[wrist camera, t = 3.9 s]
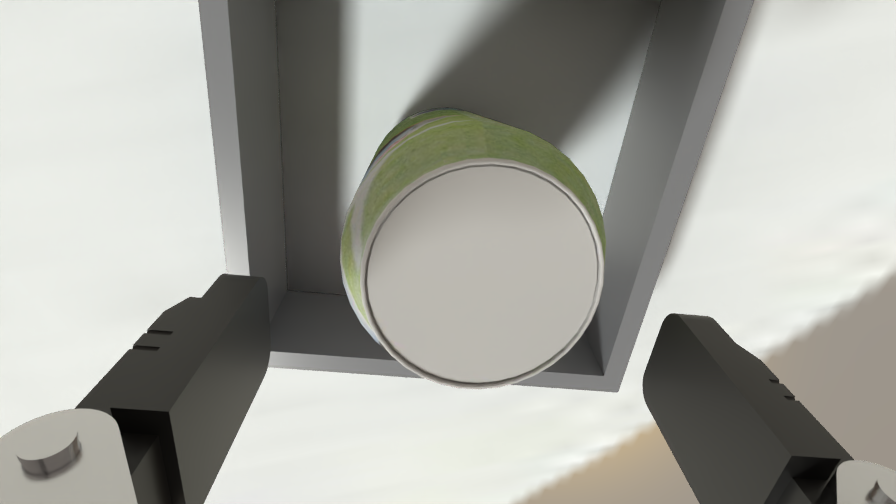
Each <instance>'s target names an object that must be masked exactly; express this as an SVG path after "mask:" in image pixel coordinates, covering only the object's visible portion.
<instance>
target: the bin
mask: <svg viewBox="0 0 896 504" xmlns="http://www.w3.org/2000/svg"><path fill="white" fill-rule="evenodd" d="M198 2H199V12H200V21H201V31H202V40H203V50H204V59H205V69H206V79H207V88H208V98H209V107H210V117H211V127H212V136H213V146H214V155H215V165H216V174H217V184H218V194H219V203H220V213H221V222H222V232H223V242H224V251H225V261H226V270H227V274H233V275H244V276H256V277H264V278H265V280H266V282H267V287H268V302H269V319H270V337H271V351H270V359H269V364H268V367H273V368H287V369H301V370H315V371H329V372H342V373H356V374H370V375H384V376H398V377H411V378H423V377H421V376H419V375H417V374H416V373H414V372H412V371H411V370H409V369H407V368H406V367H404V366H403V365H402V364H401V363H400V362H398V361H397V360H396V359H395V358H394V357H393V356H391V355H390V354H389V352H388V351H386V350H385V349H384V348H383V347H382V346H381V345H379V344H378V343H377V342H376V341H375V340H374V339H373V338H372V336H371V335H370V334H369V333H368V331H367V330H366V329H365V328H364V327H363V325H362V324H361V323H360V321H359V319H358V317H357V315H356V314H355V312H354V310H353V308H352V306H351V305H350V302H349V299H348V296H347V295H335V294H323V293H311V292H299V291H287V270H286V247H285V223H284V199H283V175H282V151H281V127H280V104H279V80H278V56H277V32H276V8H275V0H198ZM753 2H754V0H661V4H660V8H659V11H658V15H657V19H656V22H655V26H654V30H653V33H652V37H651V41H650V44H649V48H648V52H647V55H646V59H645V63H644V67H643V70H642V74H641V78H640V81H639V85H638V89H637V92H636V96H635V100H634V103H633V107H632V111H631V114H630V118H629V122H628V125H627V129H626V133H625V136H624V140H623V144H622V147H621V151H620V155H619V158H618V162H617V166H616V170H615V173H614V177H613V181H612V184H611V188H610V192H609V195H608V199H607V203H606V206H605V210H604V214H603V222H604V230H605V237H606V252H605V266H604V283H603V288H602V292H601V296H600V301H599V304H598V306H597V309H596V311H595V313H594V316H593V318H592V320H591V322H590V324H589V325H588V327H587V328H586V330H585V332H584V333H583V335H582V336H581V338H580V339H579V340H578V341H577V342H576V343H575V344H574V346H573V347H572V348H571V349H570V350H569V351H568V352H567V353H566V354H565V355H564V356H562V357H561V358H560V359H559V360H558V361H556V362H555V363H554V364H553V365H551V366H550V367H548V368H546V369H545V370H543V371H541V372H540V373H538V374H536V375H534V376H532V377H530V378H527V379H525V380H522V381H520V382H518V383H514V384H510V385H522V386H536V387H550V388H564V389H577V390H591V391H605V392H618V391H619V388H620V385H621V382H622V379H623V376H624V374H625V371H626V368H627V365H628V362H629V359H630V356H631V353H632V350H633V348H634V345H635V342H636V339H637V336H638V333H639V330H640V327H641V325H642V322H643V319H644V316H645V313H646V310H647V307H648V304H649V301H650V299H651V296H652V293H653V290H654V287H655V284H656V281H657V278H658V276H659V273H660V270H661V267H662V264H663V261H664V258H665V255H666V252H667V250H668V247H669V244H670V241H671V238H672V235H673V232H674V229H675V227H676V224H677V221H678V218H679V215H680V212H681V209H682V206H683V203H684V201H685V198H686V195H687V192H688V189H689V186H690V183H691V180H692V178H693V175H694V172H695V169H696V166H697V163H698V160H699V157H700V154H701V152H702V149H703V146H704V143H705V140H706V137H707V134H708V131H709V129H710V126H711V123H712V120H713V117H714V114H715V111H716V108H717V105H718V103H719V100H720V97H721V94H722V91H723V88H724V85H725V82H726V80H727V77H728V74H729V71H730V68H731V65H732V62H733V59H734V56H735V54H736V51H737V48H738V45H739V42H740V39H741V36H742V33H743V31H744V28H745V25H746V22H747V19H748V16H749V13H750V10H751V7H752V5H753Z"/></svg>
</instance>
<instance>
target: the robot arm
mask: <svg viewBox="0 0 896 504" xmlns="http://www.w3.org/2000/svg"><path fill="white" fill-rule="evenodd" d="M270 351H271V337H270V319H269V302H268V287H267V282H266V280H265V278H264V277H256V276H244V275H233V274H222V275H220V276H219V278H218V279H217V280H216V281H215V282H214V283H213V285H212V286H211V287H210V288H209V289H208V291H207V292H206V293H205V294H204V295H203V297H202V298H196V297H189V298H187V299H185V300H184V301H182V302H180V303H178V304H176V305H175V306H173V307H171V308H169V309H168V310H166V311H164V312H163V313H162V314H161V315H160V317H159V318H158V319H157V320H156V321H155V322H154V323H153V324H152V325H151V326H150V327H149V328H148V331H147V333H144V334H143V335H142V336H141V337H140V338H139V339H138V340H137V341H136V343H135V344H134V345H133V349H129V350H128V351H127V352H126V353H125V354H124V356H123V357H122V358H121V359H120V360H119V361H118V362H117V363H116V364H115V365H114V366H113V367H112V369H111V370H110V371H109V372H108V373H107V374H106V375H105V376H104V377H103V378H102V379H101V380H100V382H99V383H98V384H97V385H96V386H95V387H94V388H93V389H92V390H91V391H90V392H89V393H88V395H87V396H86V397H85V398H84V399H83V400H82V401H81V402H80V403H79V404H78V405H77V406H76V408H75V409H69V410H63V411H58V412H54V413H50V414H47V415H44V416H41V417H38V418H35V419H33V420H31V421H29V422H26V423H24V424H22V425H20V426H18V427H17V428H15V429H13V430H11V431H10V432H8V433H7V434H5V435H4V436H2V437H1V438H0V504H204V502H205V499H206V497H207V495H208V493H209V491H210V489H211V487H212V485H213V483H214V481H215V479H216V477H217V474H218V472H219V470H220V468H221V466H222V464H223V462H224V460H225V458H226V456H227V454H228V451H229V449H230V447H231V445H232V443H233V441H234V439H235V437H236V435H237V433H238V431H239V428H240V426H241V424H242V422H243V420H244V418H245V416H246V414H247V412H248V410H249V408H250V406H251V403H252V401H253V399H254V397H255V395H256V393H257V391H258V389H259V387H260V385H261V383H262V380H263V378H264V376H265V374H266V371H267V368H268V364H269V359H270ZM643 395H644V399H645V402H646V404H647V406H648V408H649V410H650V412H651V414H652V416H653V418H654V420H655V421H656V423H657V425H658V427H659V429H660V431H661V433H662V434H663V436H664V438H665V440H666V442H667V444H668V446H669V447H670V449H671V451H672V453H673V455H674V457H675V459H676V460H677V462H678V464H679V466H680V468H681V470H682V472H683V473H684V475H685V477H686V479H687V481H688V483H689V485H690V487H691V488H692V490H693V492H694V494H695V496H696V498H697V500H698V501H699V503H700V504H896V472H895V471H893V470H891V469H888V468H886V467H884V466H881V465H877V464H875V463H870V462H866V461H859V460H854V459H853V458H852V457H851V456H850V455H849V454H848V453H847V452H846V451H845V449H844V448H843V447H842V446H841V445H840V444H839V443H838V442H837V441H836V440H835V439H834V438H833V437H832V436H831V435H830V433H829V432H828V431H827V430H826V429H825V428H824V427H823V426H822V425H821V424H820V423H819V422H818V421H817V420H816V419H815V417H813V415H812V414H811V413H810V412H809V411H808V410H807V409H806V408H805V407H804V406H803V405H802V404H801V403H800V401H795V398H794V397H795V396H794V395H793V394H792V393H791V392H790V391H789V390H788V389H787V388H786V387H785V386H784V384H780V383H779V379H778V378H777V377H776V376H775V375H774V374H773V373H772V372H771V371H770V370H769V368H768V367H767V366H766V365H765V364H764V363H763V362H762V361H761V360H760V359H758V358H757V357H755V356H754V355H752V354H751V353H749V352H748V351H746V350H745V349H744V348H742V347H741V346H739V345H738V344H736V343H735V342H734V341H733V340H732V339H731V337H730V336H729V335H728V334H727V333H726V332H725V331H724V330H723V329H722V328H721V326H720V325H719V324H718V323H717V322H716V321H715V320H714V319H713V318H711V317H708V316H698V315H686V314H675V313H673V314H669V315H668V316H667V317H666V318H665V319H664V321H663V323H662V326H661V328H660V331H659V334H658V337H657V339H656V342H655V345H654V348H653V350H652V353H651V356H650V359H649V361H648V364H647V367H646V370H645V373H644V377H643Z"/></svg>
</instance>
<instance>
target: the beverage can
mask: <svg viewBox="0 0 896 504" xmlns="http://www.w3.org/2000/svg"><path fill="white" fill-rule="evenodd" d="M605 252H606V237H605V230H604V222H603V217H602V214H601V211H600V208H599V205H598V202H597V199H596V196H595V195H594V193H593V191H592V189H591V188H590V186H589V184H588V182H587V180H586V179H585V177H584V175H583V174H582V173H581V172H580V171H579V170H578V168H577V167H576V166H575V165H574V164H573V162H572V161H571V160H570V159H569V158H568V157H567V156H565V155H564V154H563V153H562V152H560V151H559V150H558V149H557V148H555V147H554V146H553V145H552V144H550V143H549V142H547V141H545V140H543V139H541V138H539V137H537V136H536V135H534V134H532V133H530V132H528V131H525V130H522V129H519V128H516V127H513V126H510V125H507V124H504V123H501V122H498V121H495V120H492V119H489V118H486V117H483V116H480V115H477V114H474V113H470V112H467V111H464V110H461V109H453V108H435V109H430V110H426V111H422V112H419V113H417V114H414V115H412V116H410V117H408V118H406V119H405V120H403V121H402V122H400V123H399V124H398V125H396V126H395V127H394V128H393V129H392V130H391V131H390V132H389V133H388V134H387V135H386V137H385V138H384V140H383V141H382V143H381V144H380V146H379V147H378V149H377V151H376V153H375V155H374V157H373V159H372V161H371V163H370V165H369V167H368V169H367V172H366V174H365V176H364V178H363V180H362V182H361V184H360V186H359V188H358V190H357V192H356V194H355V196H354V198H353V201H352V203H351V205H350V207H349V209H348V212H347V214H346V218H345V222H344V227H343V231H342V235H341V248H340V264H341V271H342V279H343V284H344V287H345V290H346V293H347V296H348V299H349V302H350V305H351V306H352V308H353V310H354V312H355V314H356V315H357V317H358V319H359V321H360V323H361V324H362V325H363V327H364V328H365V329H366V330H367V331H368V333H369V334H370V335H371V336H372V338H373V339H374V340H375V341H376V342H377V343H378V344H379V345H381V346H382V347H383V348H384V349H385V350H386V351H388V352H389V354H390V355H391V356H393V357H394V358H395V359H396V360H397V361H398V362H400V363H401V364H402V365H403V366H404V367H406V368H407V369H409V370H411V371H412V372H414V373H416V374H417V375H419V376H421V377H423V378H425V379H428V380H430V381H433V382H436V383H438V384H441V385H446V386H451V387H456V388H464V389H487V388H497V387H502V386H506V385H510V384H514V383H518V382H520V381H522V380H525V379H527V378H530V377H532V376H534V375H536V374H538V373H540V372H541V371H543V370H545V369H546V368H548V367H550V366H551V365H553V364H554V363H555V362H556V361H558V360H559V359H560V358H561V357H562V356H564V355H565V354H566V353H567V352H568V351H569V350H570V349H571V348H572V347H573V346H574V344H575V343H576V342H577V341H578V340H579V339H580V338H581V336H582V335H583V333H584V332H585V330H586V328H587V327H588V325H589V324H590V322H591V320H592V318H593V316H594V313H595V311H596V309H597V306H598V304H599V301H600V296H601V292H602V288H603V283H604V266H605Z"/></svg>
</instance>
